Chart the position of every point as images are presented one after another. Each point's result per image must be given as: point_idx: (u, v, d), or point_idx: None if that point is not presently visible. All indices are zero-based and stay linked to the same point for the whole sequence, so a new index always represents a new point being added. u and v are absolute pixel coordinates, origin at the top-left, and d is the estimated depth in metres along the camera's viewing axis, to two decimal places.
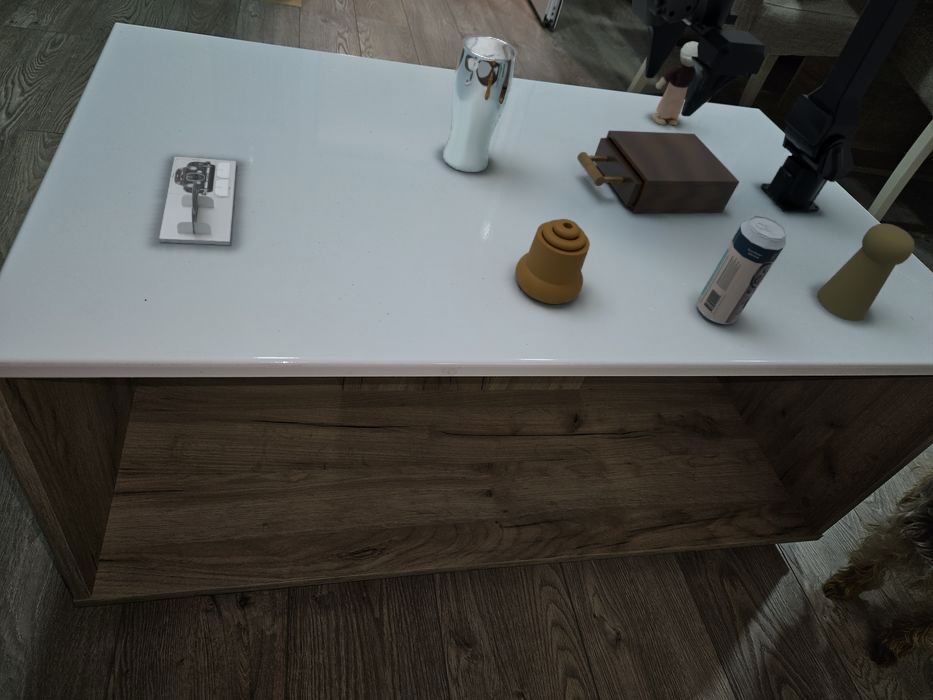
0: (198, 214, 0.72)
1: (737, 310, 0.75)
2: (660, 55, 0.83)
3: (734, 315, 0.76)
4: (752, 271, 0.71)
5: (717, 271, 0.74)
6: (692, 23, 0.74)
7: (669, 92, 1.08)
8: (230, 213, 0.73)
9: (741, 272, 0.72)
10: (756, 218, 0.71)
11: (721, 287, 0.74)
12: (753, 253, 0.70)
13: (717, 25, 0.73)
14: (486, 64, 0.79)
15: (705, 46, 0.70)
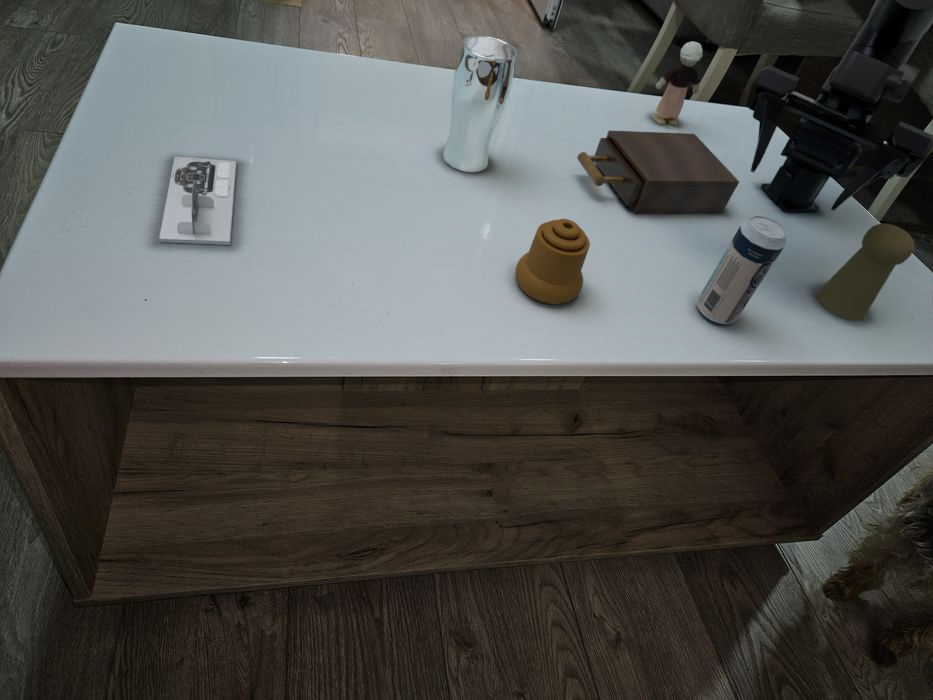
0: (198, 214, 0.72)
1: (737, 310, 0.75)
2: None
3: (734, 315, 0.76)
4: (752, 271, 0.71)
5: (717, 271, 0.74)
6: (848, 117, 0.72)
7: (669, 92, 1.08)
8: (230, 213, 0.73)
9: (741, 272, 0.72)
10: (756, 218, 0.71)
11: (721, 287, 0.74)
12: (753, 253, 0.70)
13: None
14: (486, 64, 0.79)
15: (908, 135, 0.69)
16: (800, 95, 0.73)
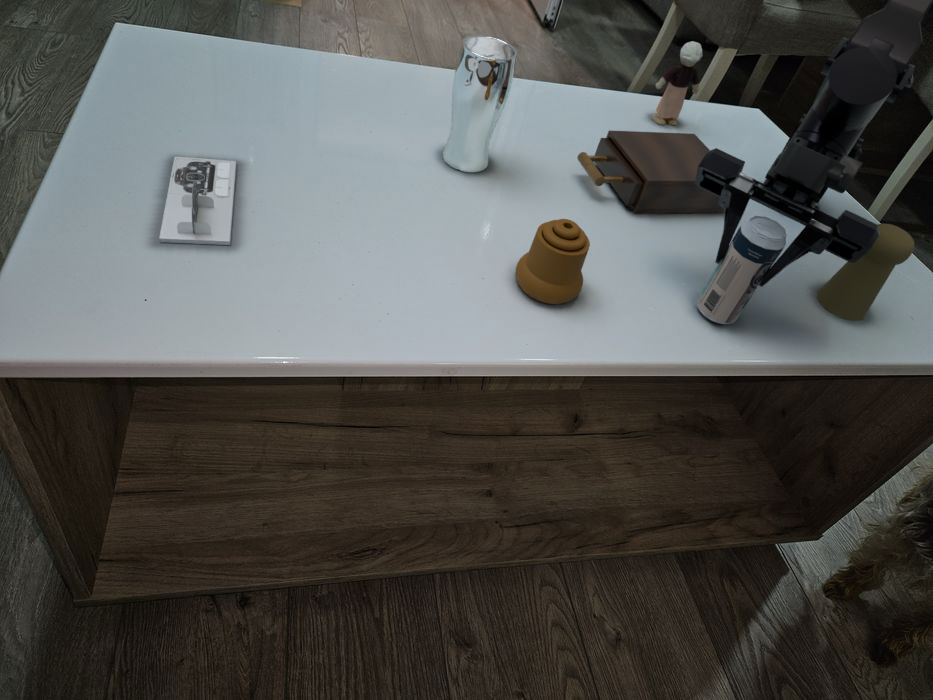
0: (198, 214, 0.72)
1: (737, 310, 0.75)
2: None
3: (734, 315, 0.76)
4: (752, 271, 0.71)
5: (717, 271, 0.74)
6: (813, 212, 0.70)
7: (669, 92, 1.08)
8: (230, 213, 0.73)
9: (741, 272, 0.72)
10: (756, 218, 0.71)
11: (721, 287, 0.74)
12: (753, 253, 0.70)
13: None
14: (486, 64, 0.79)
15: (852, 224, 0.68)
16: (765, 188, 0.72)
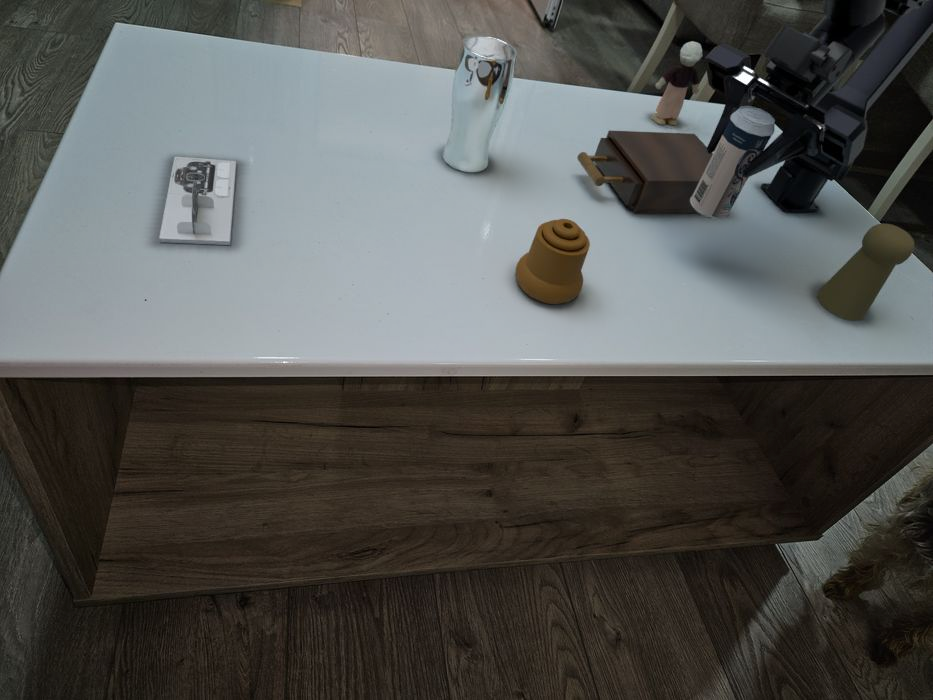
0: (198, 214, 0.72)
1: (723, 203, 0.77)
2: None
3: (721, 208, 0.78)
4: (736, 158, 0.73)
5: (709, 162, 0.77)
6: (808, 107, 0.72)
7: (669, 92, 1.08)
8: (230, 213, 0.73)
9: (726, 159, 0.74)
10: (749, 108, 0.73)
11: (709, 176, 0.77)
12: (737, 138, 0.72)
13: None
14: (486, 64, 0.79)
15: (838, 116, 0.69)
16: (764, 82, 0.74)
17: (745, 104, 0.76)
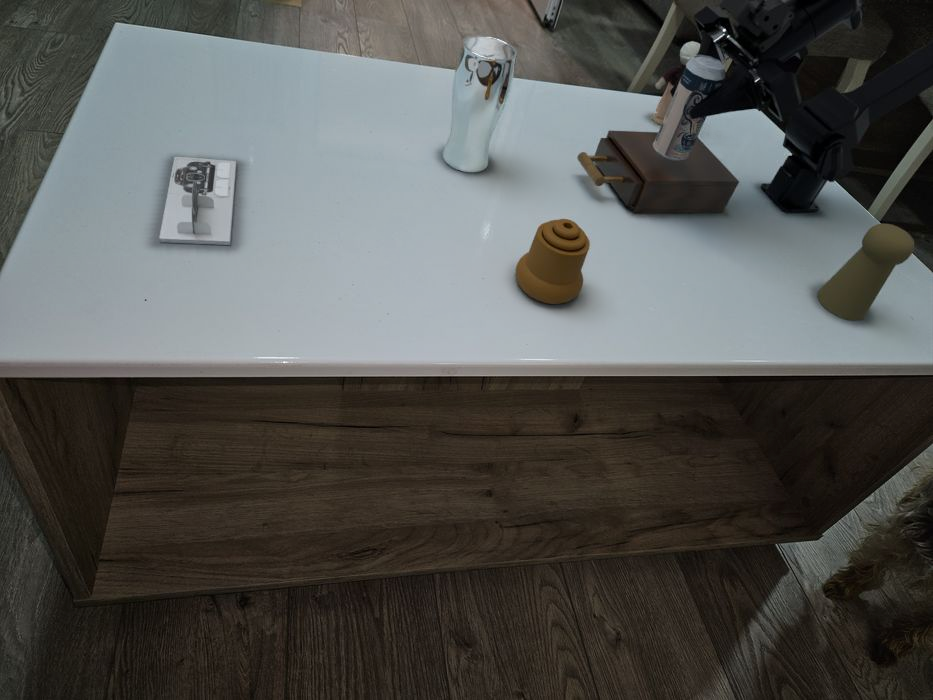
0: (198, 214, 0.72)
1: (674, 143, 0.86)
2: None
3: (672, 148, 0.86)
4: (684, 98, 0.82)
5: None
6: (756, 62, 0.79)
7: (669, 92, 1.08)
8: (230, 213, 0.73)
9: (677, 99, 0.83)
10: (708, 58, 0.82)
11: (665, 116, 0.85)
12: (686, 79, 0.81)
13: None
14: (486, 64, 0.79)
15: (769, 66, 0.75)
16: (731, 39, 0.82)
17: None
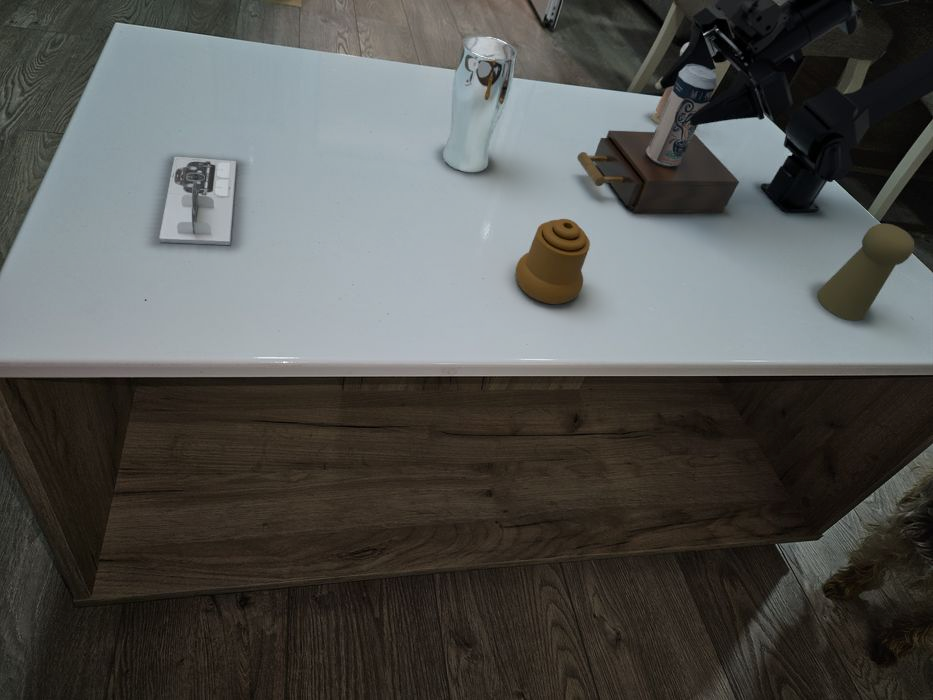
0: (198, 214, 0.72)
1: (666, 149, 0.88)
2: None
3: (664, 154, 0.88)
4: (676, 106, 0.84)
5: None
6: (742, 54, 0.81)
7: (669, 92, 1.08)
8: (230, 213, 0.73)
9: (670, 106, 0.85)
10: (701, 67, 0.84)
11: None
12: (678, 87, 0.83)
13: None
14: (486, 64, 0.79)
15: (761, 65, 0.76)
16: (720, 33, 0.84)
17: (704, 52, 0.87)
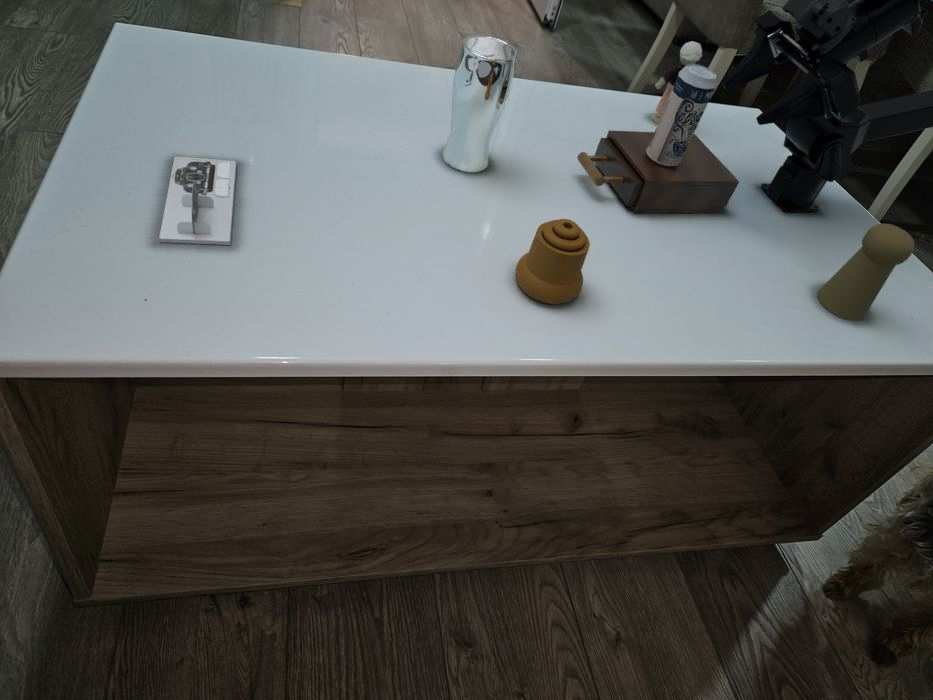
0: (198, 214, 0.72)
1: (666, 149, 0.88)
2: (745, 75, 0.90)
3: (664, 154, 0.88)
4: (676, 106, 0.84)
5: None
6: (808, 55, 0.83)
7: (668, 92, 1.08)
8: (230, 213, 0.73)
9: (670, 106, 0.85)
10: (701, 67, 0.84)
11: None
12: (678, 87, 0.83)
13: None
14: (486, 64, 0.79)
15: (830, 66, 0.78)
16: (784, 34, 0.86)
17: (768, 54, 0.89)
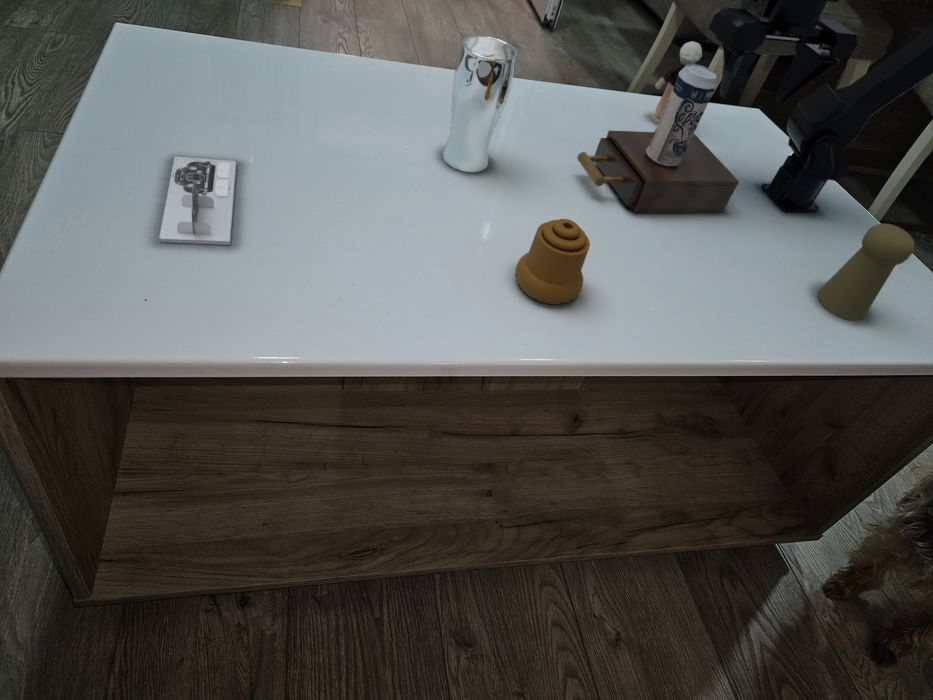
0: (198, 214, 0.72)
1: (666, 149, 0.88)
2: (791, 82, 0.90)
3: (664, 154, 0.88)
4: (676, 106, 0.84)
5: None
6: None
7: (668, 92, 1.08)
8: (230, 213, 0.73)
9: (670, 106, 0.85)
10: (701, 67, 0.84)
11: None
12: (678, 87, 0.83)
13: (770, 24, 0.83)
14: (486, 64, 0.79)
15: None
16: None
17: (806, 53, 0.88)
